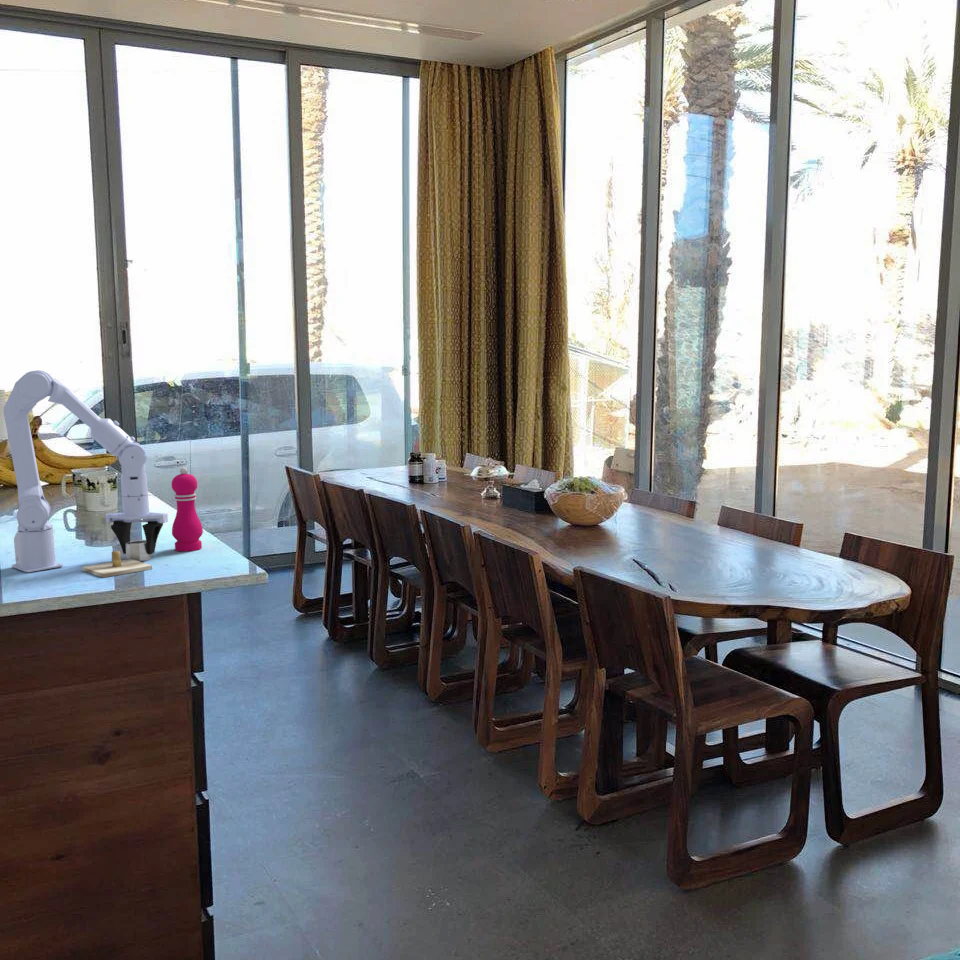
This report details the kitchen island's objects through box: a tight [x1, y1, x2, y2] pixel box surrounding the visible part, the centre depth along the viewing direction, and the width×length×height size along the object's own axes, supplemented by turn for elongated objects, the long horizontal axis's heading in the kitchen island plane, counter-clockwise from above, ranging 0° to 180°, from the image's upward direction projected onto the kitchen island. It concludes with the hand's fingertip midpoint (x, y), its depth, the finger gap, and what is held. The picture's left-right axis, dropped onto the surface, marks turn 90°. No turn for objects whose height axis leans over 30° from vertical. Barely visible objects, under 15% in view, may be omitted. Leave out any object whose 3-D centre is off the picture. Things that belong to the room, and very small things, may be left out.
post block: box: [81, 550, 153, 578], centre depth 218 cm, size 11×11×4 cm
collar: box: [125, 539, 153, 562], centre depth 229 cm, size 5×5×4 cm
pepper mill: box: [171, 466, 204, 552], centre depth 238 cm, size 7×7×20 cm
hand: (138, 553), depth 229 cm, fingers closed on collar, 5 cm apart
